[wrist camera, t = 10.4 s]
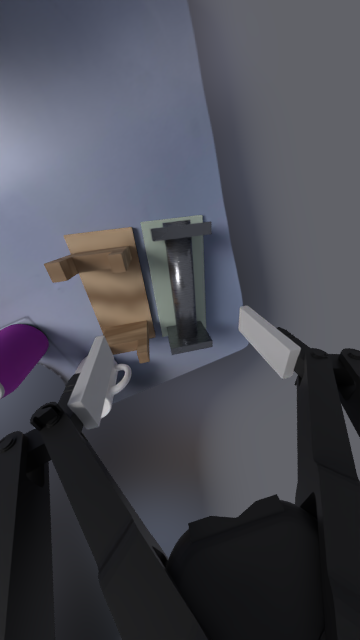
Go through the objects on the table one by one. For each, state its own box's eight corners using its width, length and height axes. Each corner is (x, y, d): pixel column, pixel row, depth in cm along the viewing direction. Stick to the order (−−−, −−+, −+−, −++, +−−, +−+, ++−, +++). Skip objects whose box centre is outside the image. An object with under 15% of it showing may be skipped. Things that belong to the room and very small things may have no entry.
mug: (126, 342, 37) (120, 379, 28) (139, 368, 41) (137, 407, 32) (72, 358, 36) (48, 400, 27) (91, 383, 40) (75, 426, 32)
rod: (148, 225, 27) (150, 224, 20) (195, 219, 27) (211, 216, 21) (167, 334, 37) (172, 356, 30) (200, 327, 38) (212, 348, 31)
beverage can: (55, 353, 35) (17, 406, 25) (11, 355, 33) (-48, 412, 23) (45, 321, 31) (-4, 367, 21) (-4, 321, 30) (-83, 370, 20)
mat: (140, 222, 27) (140, 222, 26) (201, 215, 28) (202, 214, 27) (162, 335, 38) (162, 336, 37) (205, 327, 39) (206, 328, 38)
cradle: (66, 235, 26) (19, 239, 16) (131, 227, 27) (124, 226, 17) (109, 343, 36) (96, 384, 27) (155, 334, 37) (158, 371, 28)
